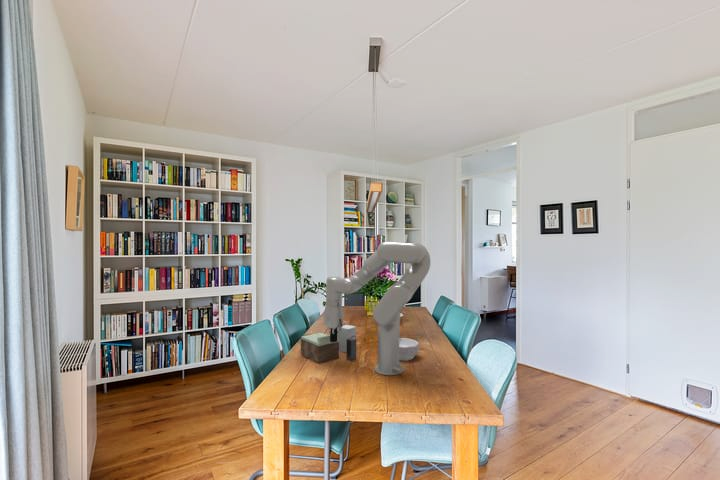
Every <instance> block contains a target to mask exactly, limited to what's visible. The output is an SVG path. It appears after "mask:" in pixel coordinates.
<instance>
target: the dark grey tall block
mask: <svg viewBox="0 0 720 480" xmlns="http://www.w3.org/2000/svg"><path fill="white" fill-rule="evenodd" d="M346 360H347V361H349V362H353V361H356V360H357V338H356V339H354V338H349V339H347V353H346Z"/></svg>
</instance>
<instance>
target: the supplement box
mask: <svg viewBox="0 0 720 480" xmlns="http://www.w3.org/2000/svg"><path fill="white" fill-rule="evenodd" d="M349 338H354V339H356V340H357V326H354V325H350V324H345V325H344V324H343V327H341V331H338V333H337V339H339V352H341V353H342V352H343V353H346V354H347V339H349Z"/></svg>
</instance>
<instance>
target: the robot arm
mask: <svg viewBox="0 0 720 480" xmlns="http://www.w3.org/2000/svg"><path fill="white" fill-rule="evenodd" d="M392 263H399V264H409V266H408V268H407V269H406V270H405V271H404V273H403V274H402V276H401V277H400V278H399V280H398V281H397V282H395V283H393V284H392V285H390V286H389V288H388V289H387V290H386V292H385V293H384V294H383V295H382V297H381V299H380V300H379V301H378V302H377V304H376V306H374V308H373V311H372V318H373V321H374V322H375V323H376V324H377V325H378V327H377V328H378V329H377V330H378V332H377V364H376V365H374V372H375V373H377V374H378V375H383V376H397V375H399V374H402V373H403V372H404V370H406V369H405V368H406V367H404V366H402V364H401V363H402V361H401V360H399V338H400V323H401V311H402V309H404V307H405V305H407V303H408V302H409V301H410V300H411V299H412V298H413V296H414V294H415V293H416V291H417V289H418V288H419V287H420V285H421V284H422V282H423V281H424V280H425V278H426V277H427V275H428V273H429V271H430V268H431V256H430V254H429V251H428V249H427V248H426V246H424V245H423V244H421V243H416V242H415V243H411V242H410V243H408V242H396V241H395V242H394V241H383V242H381V243H380V244H379V245H378V246H377V249H376V251H374V252H373V253H372V254H370V255H369V256H368V257H367V258H366V259H365V260H364V262H363V266H361V267H360V268H359V270H357V271H356V272H354V273H353V274H352V275H351V276H348V277H339V276H329V277H327V278H326V283H325V285H326V286H325V291H326V292H325V293H326V295H325V296H326V297H325V306H324V313H323V314H324V315H323V325H324V326H325V327H326V328H328V332H329V335H330V342H337V339H338V331H341V327H343V326H344V314H343V295H350V294H353V293H356V292H358V291H360V290H361V289H362V288H363V287H364V286H366V285H367V284H368V283H369V282H370V281H371V280H372V279H374V278H375V277H376V276H377V275H379V274H380V272H382V271H383V270H384V269H386V267H388V266H390V264H392Z"/></svg>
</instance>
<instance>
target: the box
mask: <svg viewBox="0 0 720 480" xmlns="http://www.w3.org/2000/svg"><path fill="white" fill-rule="evenodd" d="M307 335H312V334H311V333H310V334H303V335H302V336H307ZM300 353H301V356H302V357H304V358H306V359H308V360H310V361H312V362H314V363H316V364H318V365H319V364H323V363H327V362H331V361H335V360H339V358H340V351H339V342H335V343H331V344H326V345H322V346H317V345H314V344H312V343H310V342H308V341H305V340H303V339H301V338H300Z"/></svg>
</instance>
